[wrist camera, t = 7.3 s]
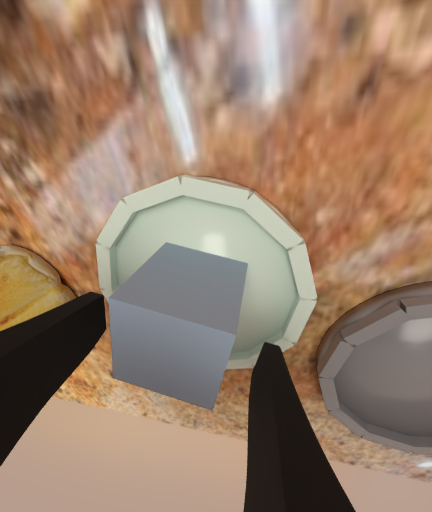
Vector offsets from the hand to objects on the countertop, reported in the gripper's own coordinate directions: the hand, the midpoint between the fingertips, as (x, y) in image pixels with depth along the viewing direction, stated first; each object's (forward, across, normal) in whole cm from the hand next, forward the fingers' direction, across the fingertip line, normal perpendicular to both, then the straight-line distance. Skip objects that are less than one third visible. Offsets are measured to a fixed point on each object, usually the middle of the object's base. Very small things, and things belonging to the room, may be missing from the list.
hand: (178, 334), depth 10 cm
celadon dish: (+5, 0, 0) cm, 5 cm away
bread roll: (+5, +13, +6) cm, 15 cm away
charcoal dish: (+5, -14, +2) cm, 15 cm away
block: (+4, 0, 0) cm, 4 cm away
